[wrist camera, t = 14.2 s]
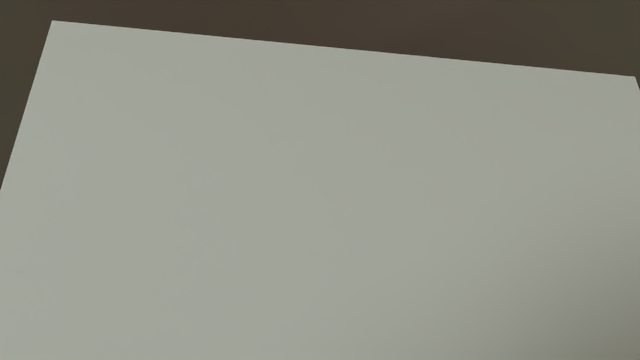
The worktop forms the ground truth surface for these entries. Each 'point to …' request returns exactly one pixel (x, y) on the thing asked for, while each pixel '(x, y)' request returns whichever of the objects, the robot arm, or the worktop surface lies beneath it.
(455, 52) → the worktop surface
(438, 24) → the worktop surface
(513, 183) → the pale grey cube
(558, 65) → the worktop surface
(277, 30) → the worktop surface
